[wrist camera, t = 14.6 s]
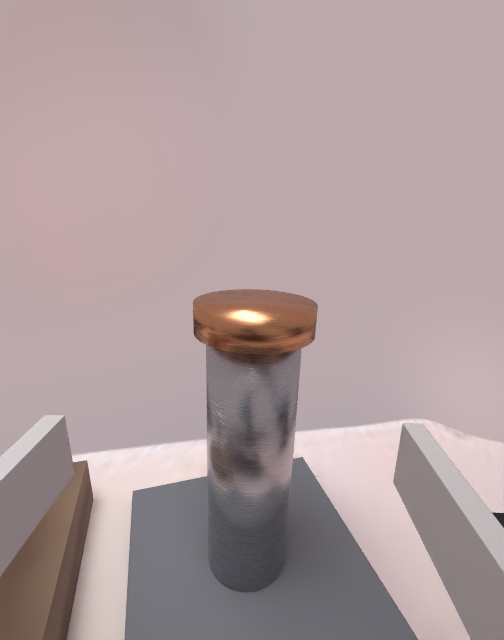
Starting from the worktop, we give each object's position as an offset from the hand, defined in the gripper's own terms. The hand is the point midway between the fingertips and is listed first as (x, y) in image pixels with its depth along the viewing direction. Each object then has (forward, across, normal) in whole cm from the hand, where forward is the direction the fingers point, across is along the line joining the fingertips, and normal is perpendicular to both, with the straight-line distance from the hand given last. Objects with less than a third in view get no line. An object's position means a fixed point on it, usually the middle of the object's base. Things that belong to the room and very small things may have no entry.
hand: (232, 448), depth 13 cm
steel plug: (+5, 0, -11) cm, 12 cm away
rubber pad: (+5, 0, -12) cm, 13 cm away
